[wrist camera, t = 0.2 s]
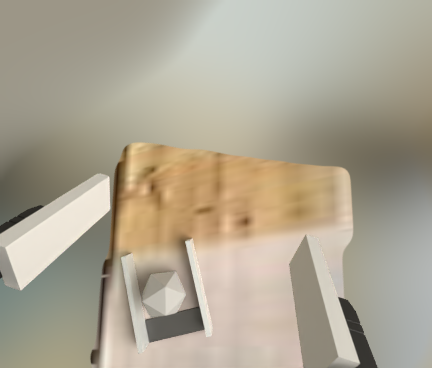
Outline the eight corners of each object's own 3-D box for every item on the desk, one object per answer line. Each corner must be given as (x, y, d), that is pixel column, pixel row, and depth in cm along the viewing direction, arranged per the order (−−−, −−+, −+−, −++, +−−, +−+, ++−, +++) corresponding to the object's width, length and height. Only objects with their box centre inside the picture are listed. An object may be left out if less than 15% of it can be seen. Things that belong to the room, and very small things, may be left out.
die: (142, 292, 49) (142, 335, 40) (142, 262, 45) (141, 303, 37) (179, 286, 51) (186, 326, 43) (181, 258, 48) (189, 295, 40)
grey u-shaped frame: (212, 326, 46) (211, 336, 43) (144, 342, 47) (138, 353, 43) (192, 238, 49) (189, 240, 45) (128, 254, 49) (120, 257, 46)
